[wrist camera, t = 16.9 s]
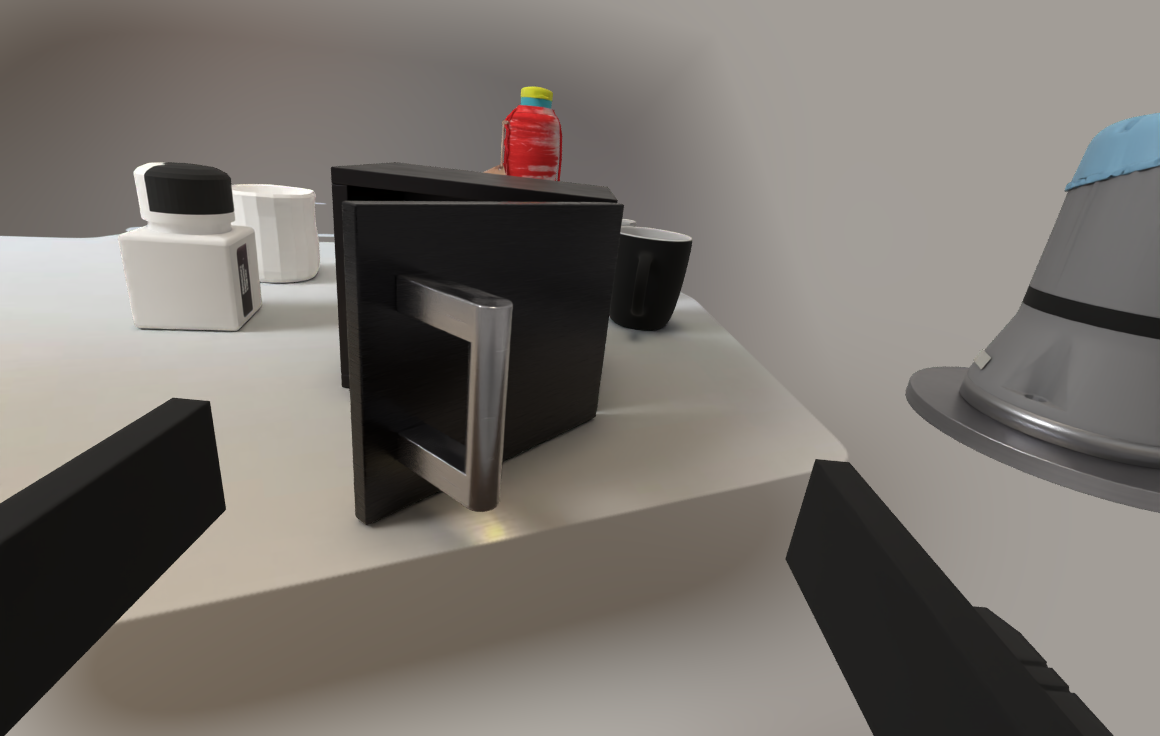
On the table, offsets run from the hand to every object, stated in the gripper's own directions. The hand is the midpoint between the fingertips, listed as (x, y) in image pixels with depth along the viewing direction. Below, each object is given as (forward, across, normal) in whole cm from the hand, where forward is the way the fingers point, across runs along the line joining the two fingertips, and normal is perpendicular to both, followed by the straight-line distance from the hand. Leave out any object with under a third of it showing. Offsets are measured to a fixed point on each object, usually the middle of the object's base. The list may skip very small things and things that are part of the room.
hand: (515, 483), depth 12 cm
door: (+17, 0, -11) cm, 20 cm away
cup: (+56, -34, -11) cm, 66 cm away
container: (+38, -32, -11) cm, 50 cm away
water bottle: (+75, -7, -11) cm, 76 cm away
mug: (+50, +9, -11) cm, 52 cm away
